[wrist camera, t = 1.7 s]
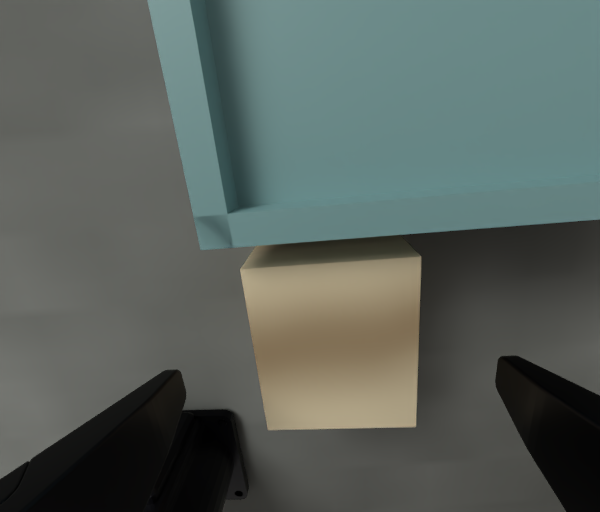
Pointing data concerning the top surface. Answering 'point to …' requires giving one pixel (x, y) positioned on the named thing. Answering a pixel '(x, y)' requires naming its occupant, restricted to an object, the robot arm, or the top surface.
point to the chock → (336, 332)
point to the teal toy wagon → (381, 115)
